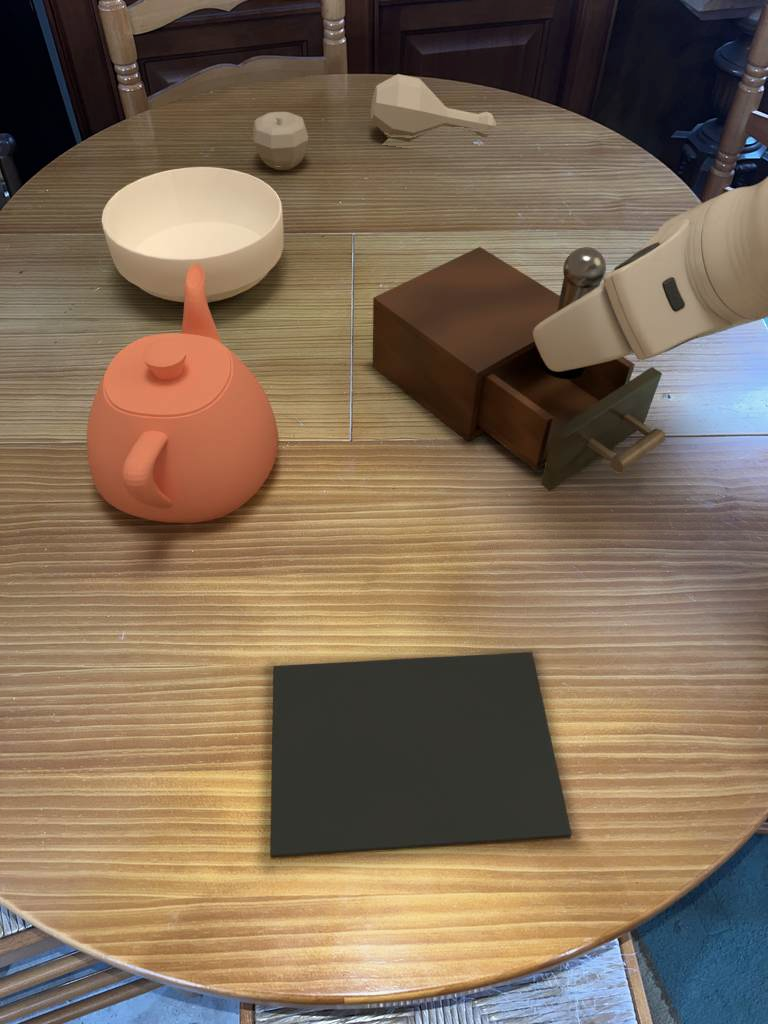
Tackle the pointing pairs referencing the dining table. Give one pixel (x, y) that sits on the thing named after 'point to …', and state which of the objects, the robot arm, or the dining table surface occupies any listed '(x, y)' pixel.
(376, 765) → the mat
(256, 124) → the apple
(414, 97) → the chicken leg
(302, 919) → the dining table surface
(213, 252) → the bowl
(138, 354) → the teapot
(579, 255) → the domed metal post
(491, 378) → the drawer
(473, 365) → the cabinet
